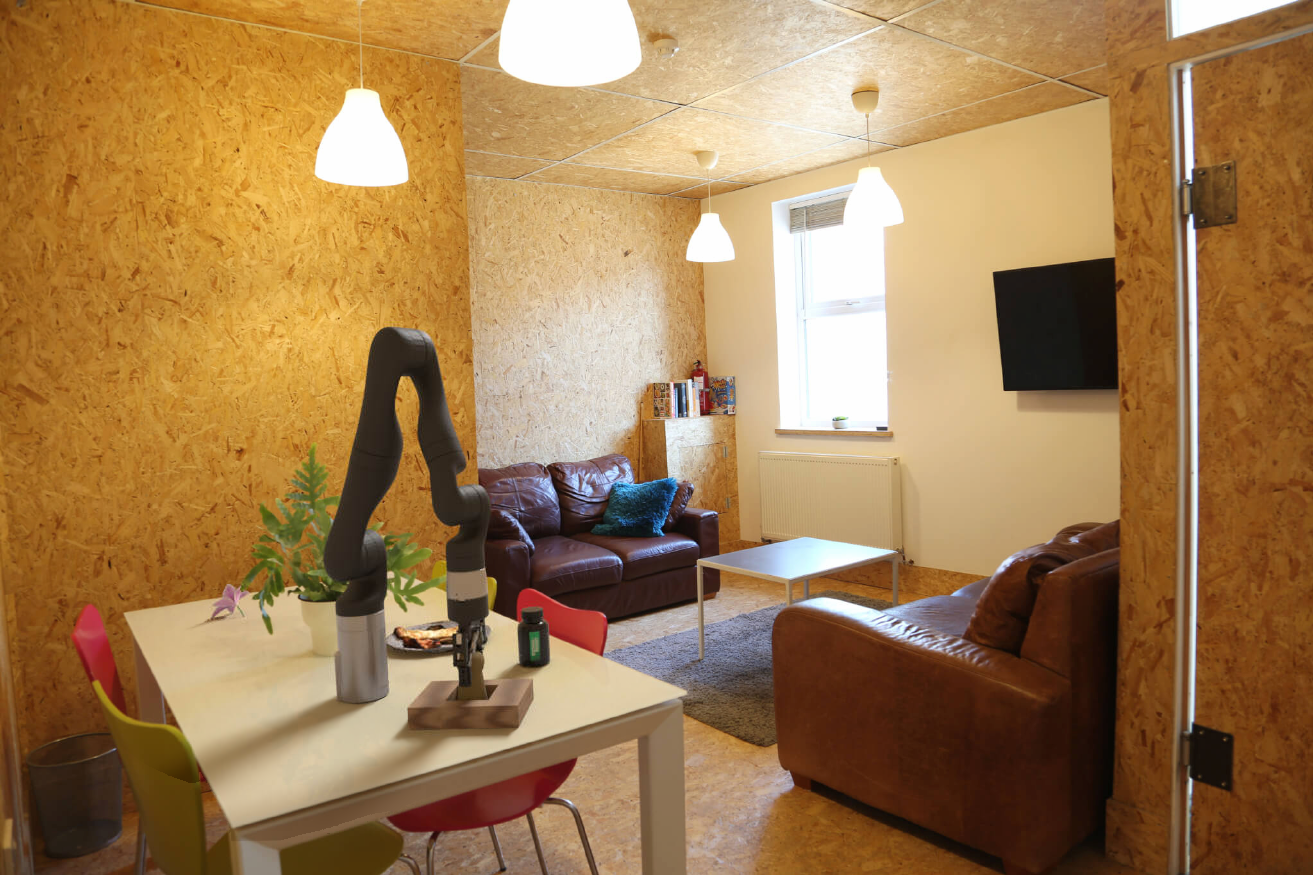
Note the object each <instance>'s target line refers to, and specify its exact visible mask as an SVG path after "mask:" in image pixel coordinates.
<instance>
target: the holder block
mask: <svg viewBox="0 0 1313 875" xmlns="http://www.w3.org/2000/svg"><path fill="white" fill-rule="evenodd" d="M484 682H485V688H486V693H487V698H488V700H465V701H457V700H458V687H459V679H458V680H452V679H451V680H431V681H430V682H429V683H428V684H427V685H426V687H425V688H424V689H423V690H422V691H420V693H419V694H418V695H417V696H416V698H414V700H413V701H412V702H411V703H410V704H409V705H408V707H407V726H408V727H407V728H408V730H411V731H413V730H414V731H415V730H450V729H451V730H453V729H456V730H457V729H458V730H460V729H495V728H496V729H498V728H499V729H500V728H501V729H503V728H506V729H507V728H519V727H520V726H521V724H522V722H523V720H524V719H525V717H526V715H527V713H528V711H529V708H530V707H531V705H532V704H533V701H534V699H535V697H534V696H535V694H534V679H533V678H507V679H506V678H501V679H495V678H494V679H484Z"/></svg>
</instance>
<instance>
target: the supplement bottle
mask: <svg viewBox="0 0 1313 875" xmlns="http://www.w3.org/2000/svg"><path fill="white" fill-rule="evenodd" d="M520 613H521V615H520V619H521V621H519V623H518V624H517V627H516V628H517V647H518V651H517V652H518V663H519V664H520V666H522V667H523V668H524V667H525V668H539V667H543V666H546V665H548V664H549V663H550V661H551V650H550V649H551V646H550V645H551V644H550V627H549V623H548V621H547V620H546V619H544V617H545V615H544V608H543V607H541V606H528V607H523V608H522V609H521V611H520Z"/></svg>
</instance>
